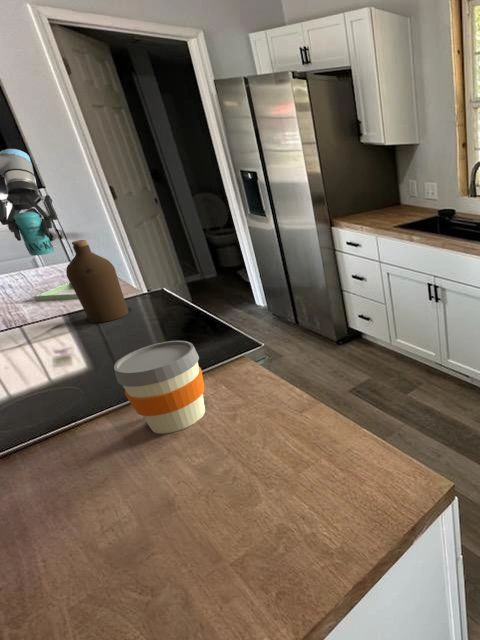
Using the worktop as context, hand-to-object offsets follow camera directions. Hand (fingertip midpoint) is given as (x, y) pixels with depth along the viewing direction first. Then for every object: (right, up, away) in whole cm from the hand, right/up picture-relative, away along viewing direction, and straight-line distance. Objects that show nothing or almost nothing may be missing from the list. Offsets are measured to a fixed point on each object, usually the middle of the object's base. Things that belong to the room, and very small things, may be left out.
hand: (33, 236), depth 147 cm
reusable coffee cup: (+103, -46, -62) cm, 129 cm away
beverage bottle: (-2, -7, +6) cm, 9 cm away
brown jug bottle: (+43, -28, -16) cm, 54 cm away
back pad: (+12, -21, +3) cm, 24 cm away
